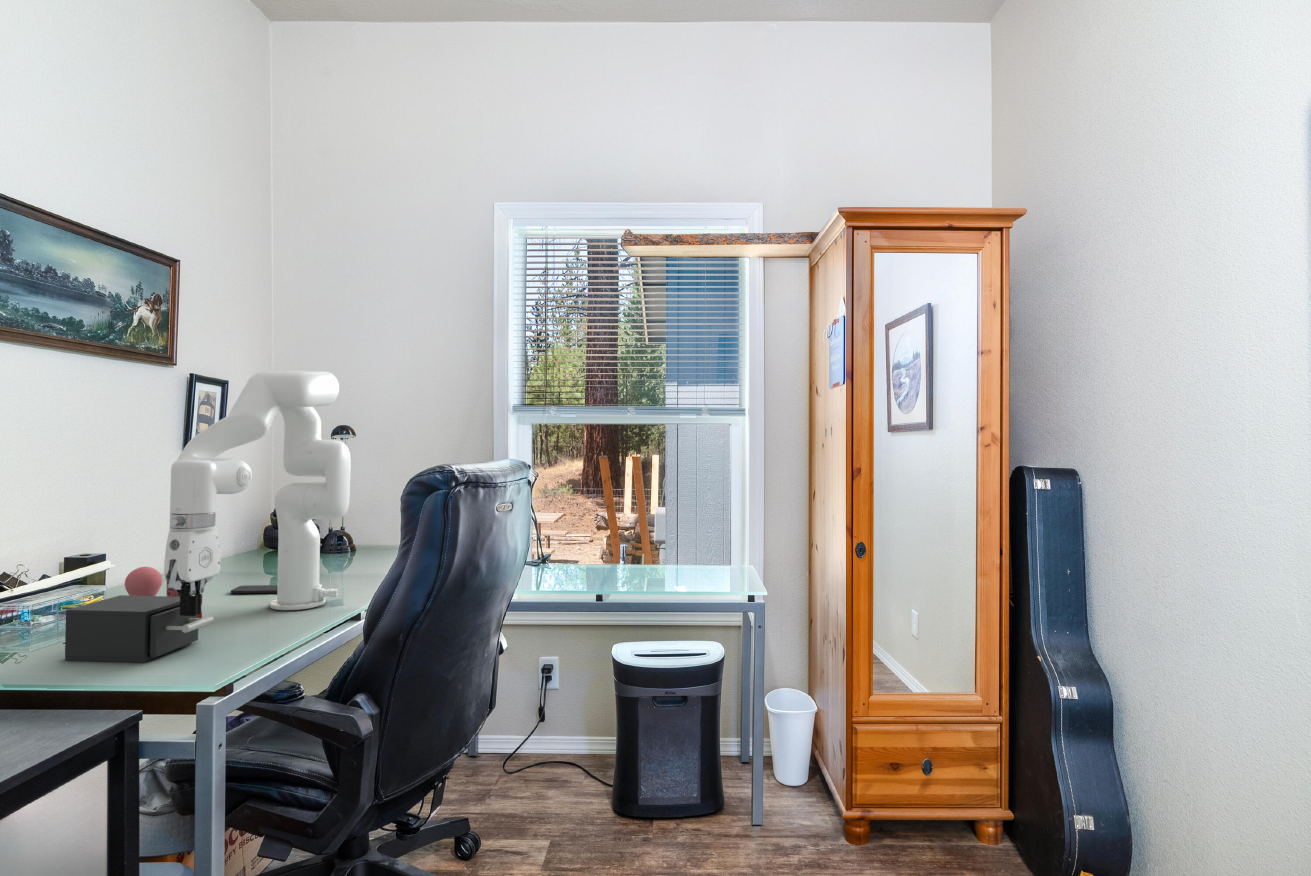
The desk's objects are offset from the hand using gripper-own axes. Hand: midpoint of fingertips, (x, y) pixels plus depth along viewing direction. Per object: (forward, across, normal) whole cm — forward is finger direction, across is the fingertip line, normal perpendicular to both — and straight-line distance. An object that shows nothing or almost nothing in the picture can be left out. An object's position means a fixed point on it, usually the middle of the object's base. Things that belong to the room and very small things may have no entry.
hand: (190, 614), depth 135 cm
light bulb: (+8, +25, +30) cm, 39 cm away
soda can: (+8, +20, +16) cm, 27 cm away
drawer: (+7, 0, +7) cm, 10 cm away
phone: (+7, +55, +19) cm, 59 cm away
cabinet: (+8, 0, +12) cm, 14 cm away
